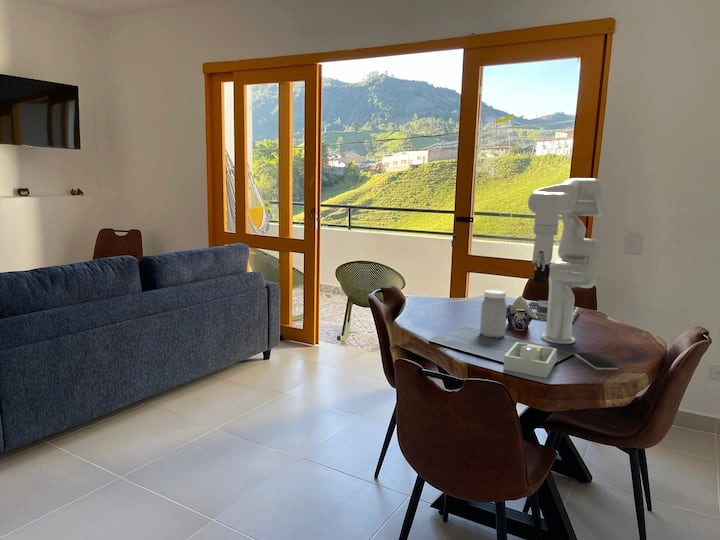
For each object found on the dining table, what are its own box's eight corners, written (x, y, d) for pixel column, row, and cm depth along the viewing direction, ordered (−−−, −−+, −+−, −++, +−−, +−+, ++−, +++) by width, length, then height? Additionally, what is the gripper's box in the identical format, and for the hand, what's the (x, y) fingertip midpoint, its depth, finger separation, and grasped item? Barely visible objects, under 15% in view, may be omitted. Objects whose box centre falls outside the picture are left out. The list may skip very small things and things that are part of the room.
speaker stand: (529, 307, 262) (529, 301, 262) (578, 313, 251) (578, 307, 251) (518, 316, 242) (519, 310, 242) (571, 324, 231) (572, 317, 231)
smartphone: (596, 367, 174) (574, 352, 189) (596, 371, 175) (573, 355, 189) (619, 367, 175) (595, 352, 190) (618, 371, 175) (594, 355, 190)
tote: (515, 355, 187) (516, 341, 186) (555, 362, 180) (556, 348, 180) (503, 370, 172) (504, 355, 171) (546, 378, 165) (547, 363, 164)
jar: (505, 339, 206) (508, 294, 203) (480, 337, 208) (483, 293, 205) (503, 332, 216) (506, 289, 213) (479, 330, 218) (482, 288, 215)
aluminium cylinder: (521, 365, 176) (523, 345, 174) (536, 368, 173) (538, 348, 172) (517, 369, 171) (518, 349, 170) (532, 372, 169) (534, 351, 168)
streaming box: (566, 312, 253) (567, 302, 252) (571, 320, 239) (572, 309, 239) (535, 310, 256) (536, 300, 256) (538, 317, 243) (539, 306, 242)
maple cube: (526, 358, 183) (528, 344, 182) (541, 361, 180) (542, 347, 179) (523, 362, 178) (524, 348, 178) (538, 365, 176) (539, 351, 175)
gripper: (539, 227, 185) (535, 275, 187) (528, 231, 170) (524, 282, 173) (561, 229, 181) (557, 277, 184) (553, 232, 166) (548, 285, 169)
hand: (541, 280), depth 178 cm, fingers open, 9 cm apart
